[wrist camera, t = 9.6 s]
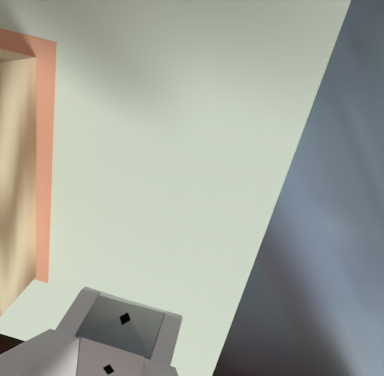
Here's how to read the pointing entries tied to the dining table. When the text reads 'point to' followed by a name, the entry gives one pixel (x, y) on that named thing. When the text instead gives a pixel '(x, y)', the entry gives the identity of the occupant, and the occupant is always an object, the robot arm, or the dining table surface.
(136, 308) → the robot arm
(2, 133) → the T block
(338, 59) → the dining table surface
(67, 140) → the mat
